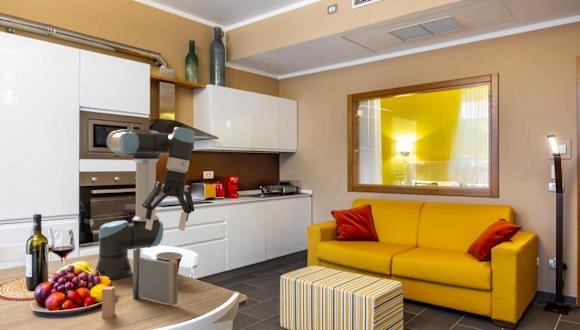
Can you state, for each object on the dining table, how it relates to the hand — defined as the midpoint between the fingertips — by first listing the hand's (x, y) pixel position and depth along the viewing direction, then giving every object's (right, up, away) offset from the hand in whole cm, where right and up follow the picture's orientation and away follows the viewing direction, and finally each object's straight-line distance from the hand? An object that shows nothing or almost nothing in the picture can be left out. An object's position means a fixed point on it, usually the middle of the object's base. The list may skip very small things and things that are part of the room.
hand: (165, 229), depth 142 cm
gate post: (-12, -26, +6) cm, 30 cm away
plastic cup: (-6, -26, +24) cm, 36 cm away
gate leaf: (-3, -25, +1) cm, 25 cm away
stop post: (-15, -26, -11) cm, 32 cm away
